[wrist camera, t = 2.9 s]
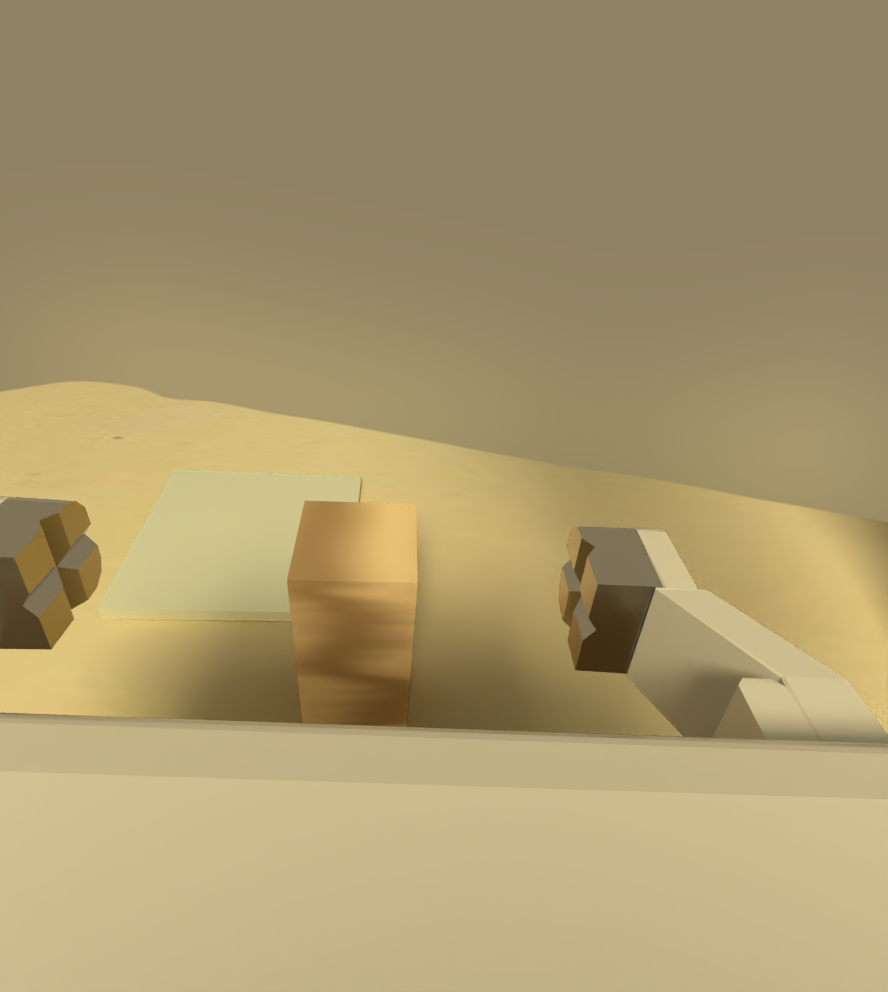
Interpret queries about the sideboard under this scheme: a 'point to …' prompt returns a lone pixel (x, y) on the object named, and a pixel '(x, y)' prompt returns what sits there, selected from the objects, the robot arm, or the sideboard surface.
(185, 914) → the robot arm
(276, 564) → the sage mat
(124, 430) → the sideboard surface
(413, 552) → the maple block
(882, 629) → the sideboard surface
